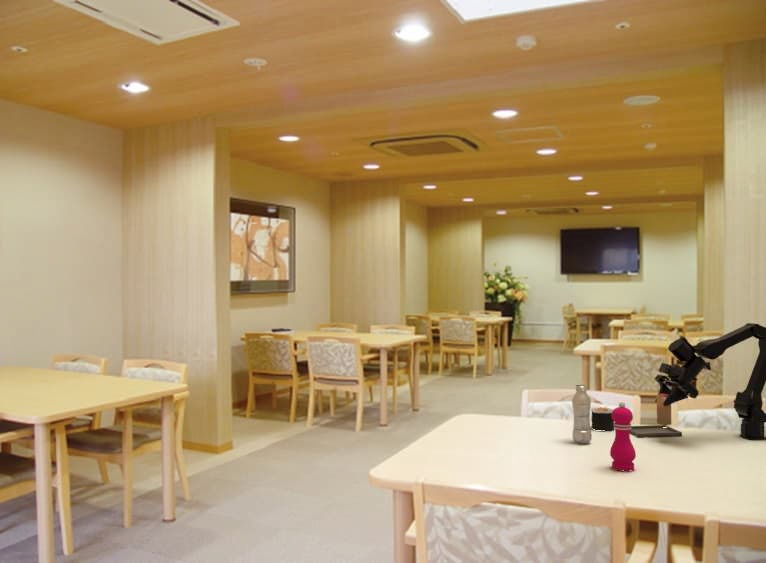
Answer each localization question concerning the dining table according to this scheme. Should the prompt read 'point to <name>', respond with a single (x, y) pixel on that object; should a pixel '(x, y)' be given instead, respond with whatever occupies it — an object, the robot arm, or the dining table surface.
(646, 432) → the tray
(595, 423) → the sushi
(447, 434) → the dining table surface
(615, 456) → the pepper mill
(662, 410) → the soy sauce bottle
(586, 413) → the plastic bottle
